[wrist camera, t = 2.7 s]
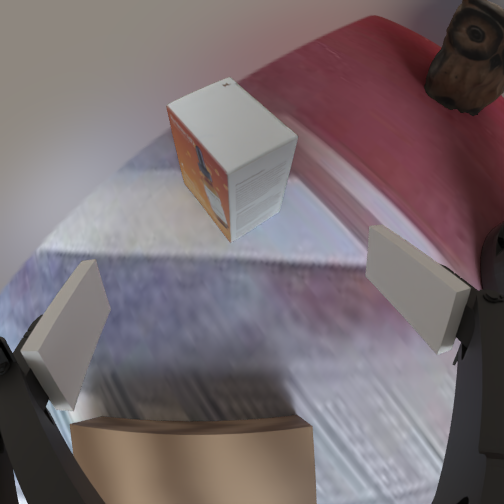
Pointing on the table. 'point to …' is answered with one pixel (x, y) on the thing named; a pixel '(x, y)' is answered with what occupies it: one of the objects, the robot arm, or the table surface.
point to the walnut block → (198, 460)
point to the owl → (470, 59)
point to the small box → (232, 155)
